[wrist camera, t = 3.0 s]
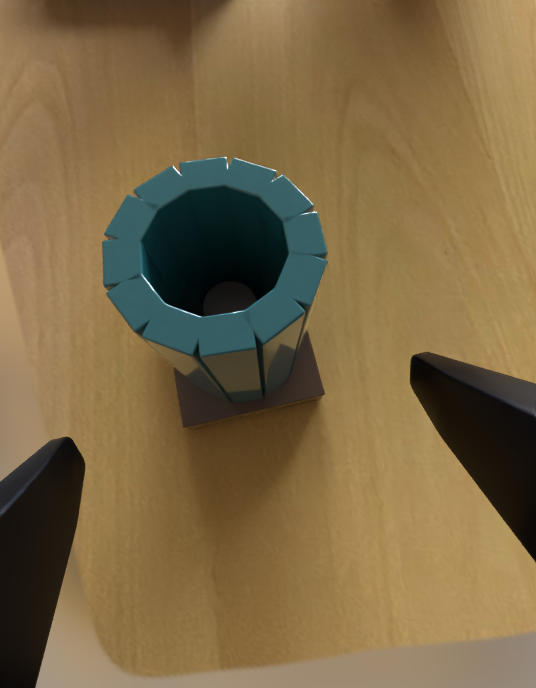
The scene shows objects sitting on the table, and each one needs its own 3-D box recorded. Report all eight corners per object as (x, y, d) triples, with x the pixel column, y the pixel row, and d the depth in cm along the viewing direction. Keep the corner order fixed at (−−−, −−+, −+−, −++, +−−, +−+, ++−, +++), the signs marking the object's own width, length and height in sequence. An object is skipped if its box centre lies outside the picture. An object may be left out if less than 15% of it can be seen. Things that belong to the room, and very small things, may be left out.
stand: (321, 398, 21) (346, 373, 14) (188, 429, 20) (149, 419, 14) (289, 280, 23) (297, 210, 16) (168, 305, 22) (126, 244, 16)
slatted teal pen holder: (274, 420, 19) (279, 389, 9) (161, 376, 20) (59, 306, 10) (314, 311, 21) (353, 192, 11) (210, 275, 21) (162, 134, 12)
